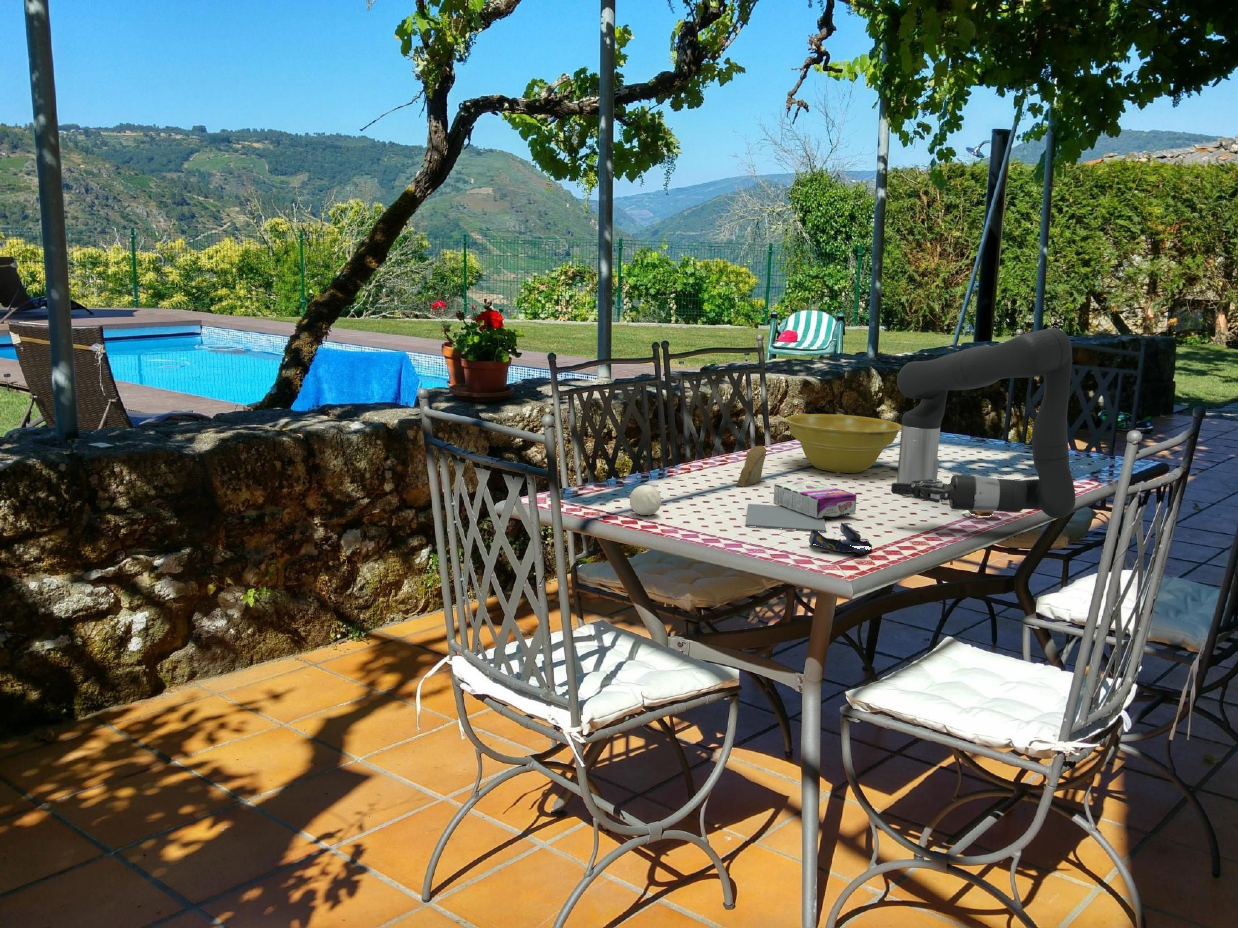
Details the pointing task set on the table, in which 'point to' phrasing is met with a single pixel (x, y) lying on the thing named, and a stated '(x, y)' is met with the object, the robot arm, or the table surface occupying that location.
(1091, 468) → the table surface
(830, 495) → the candy bar box
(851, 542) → the snack package
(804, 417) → the planter bowl
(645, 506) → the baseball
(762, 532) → the table surface
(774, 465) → the table surface
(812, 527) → the mat
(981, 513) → the hamburger
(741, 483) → the rock
